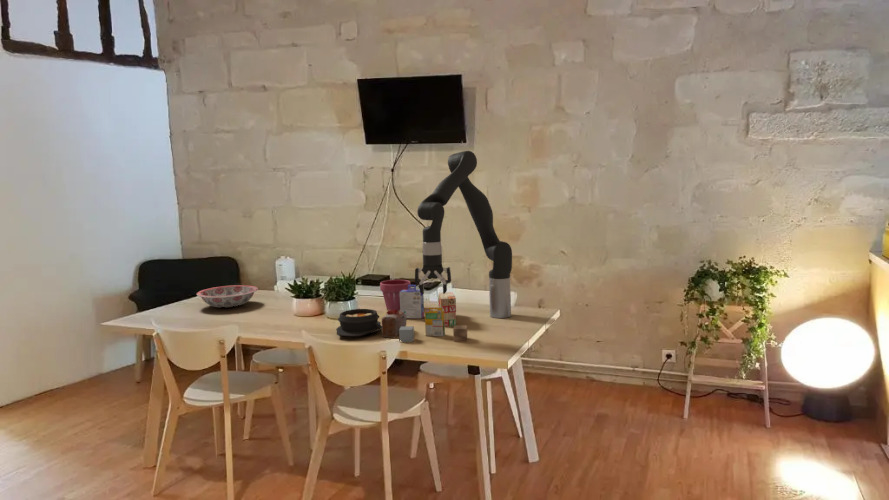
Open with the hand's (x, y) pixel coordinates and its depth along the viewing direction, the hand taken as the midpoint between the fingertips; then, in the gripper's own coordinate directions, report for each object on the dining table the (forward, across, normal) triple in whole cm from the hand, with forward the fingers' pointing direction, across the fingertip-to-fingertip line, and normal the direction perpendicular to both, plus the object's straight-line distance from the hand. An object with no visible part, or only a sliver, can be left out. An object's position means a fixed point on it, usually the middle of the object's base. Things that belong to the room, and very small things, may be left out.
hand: (433, 293), depth 272 cm
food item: (+17, +17, -4) cm, 24 cm away
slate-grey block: (+17, +10, +7) cm, 21 cm away
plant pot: (+17, +23, -49) cm, 57 cm away
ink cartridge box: (+17, +13, -31) cm, 38 cm away
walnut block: (+17, -11, +7) cm, 21 cm away
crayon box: (+17, 0, 0) cm, 17 cm away
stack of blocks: (+17, -3, -24) cm, 30 cm away
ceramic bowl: (+18, +109, -60) cm, 125 cm away
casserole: (+17, +32, -6) cm, 37 cm away
